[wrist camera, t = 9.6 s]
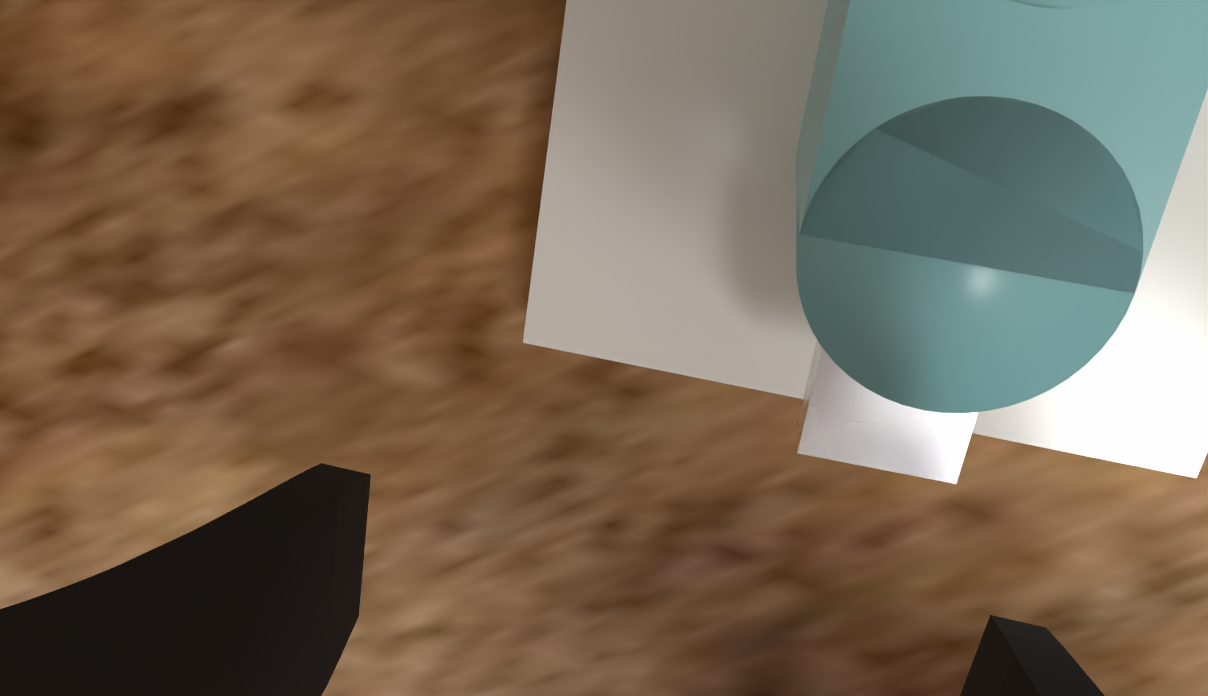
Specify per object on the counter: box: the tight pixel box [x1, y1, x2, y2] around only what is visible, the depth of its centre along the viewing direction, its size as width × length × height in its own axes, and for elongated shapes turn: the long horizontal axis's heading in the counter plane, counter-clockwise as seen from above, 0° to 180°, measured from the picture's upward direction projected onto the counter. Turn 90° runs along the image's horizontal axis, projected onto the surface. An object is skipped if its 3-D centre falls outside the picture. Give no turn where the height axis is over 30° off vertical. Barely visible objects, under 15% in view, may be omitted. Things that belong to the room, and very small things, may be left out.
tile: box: [523, 0, 1208, 478], centre depth 18 cm, size 12×12×1 cm
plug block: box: [796, 0, 1208, 484], centre depth 15 cm, size 4×11×5 cm, turn 172°
